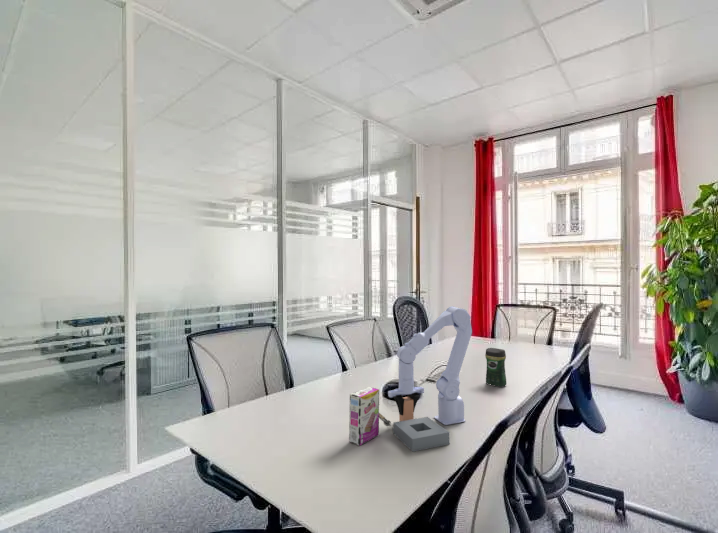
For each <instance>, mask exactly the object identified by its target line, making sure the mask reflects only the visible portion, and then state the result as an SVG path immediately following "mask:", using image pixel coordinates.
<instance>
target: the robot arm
mask: <svg viewBox="0 0 718 533" xmlns="http://www.w3.org/2000/svg"><path fill="white" fill-rule="evenodd" d="M471 319H472V317H471V315H470V313H469V312H468V311H467V310H466V309H465V308H461V307H460V308H459V307H456V306H453V305H452V306H448V308H446V310H444V311H442V312H441V313H440V315H439V316H437V317H436V319H435V320H434V321H433V322H432V323H431V324H430V325H429V326H428V327H427V328H426V329H425V330H424V331H423V332H417V333H415V332H414V334H413V335H412V336H413V337H411V339H410V340H409V341H408V342H405V343H404V345H402V346H400V347H399V348H398V349H397V351H396V356H397V358H398V388H395V389H392V390H391V389H390V390H388V391H387V396H388V398H391V399H392V398H393V399H394V402H395V403H396V406H397V410H398V415H399V414H400V415H403V405H404V400H405V399H404V398H403V396H406V395H407V397H410V398H411V399H413V407H414V410H415V409H416V405H417V402H418V401H419V400H420V397H421V396H420V394H424V393H425V388H424V387H423V386H414V385H415V383H414V382H415V381H414V377H415V376H414V375H415V374H414V362H415V360H416V356H417V355H418V354H419V353H420V352H422V351H423V349H425V348H426V347H427V346H428V345H429V344H430V339H431V338H432V337H434V336H435V335H436V334H438V333H439V331H441V330H442V329H443V328H444V327H447V326H448V327H449V326H453V327H454V330H456V335H455V338H454V342H453V345H452V348H451V350H450V354H449V357H448V360H447V364H446V367H445V370H443V372H441V374H440V377H439V378H438V379H437V381H436V382H435V386H436V389H437V391H438V394H437V399H438V400H437V402H438V403H437V404H438V405H437V408H438V409H437V410H438V412H437V415H435V416H433V419H435V420H437V422H440V423H441V424H442V425H444V426H449V425H453V424H459V423H464V422H466V419H465V403H464V400H463V398H462V397H461V396H460V384H461V382H460V380H461V379H460V372H461V369H462V366H463V363H464V359H465V357H466V353H467V349H468V346H469V344H470V341H471V337H472V334H473V329H472V323H471Z"/></svg>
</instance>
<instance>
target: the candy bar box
mask: <svg viewBox="0 0 718 533" xmlns="http://www.w3.org/2000/svg"><path fill="white" fill-rule="evenodd" d="M379 413H380V389H379V388H376V387H375V388H374V387H371V386H367V387H365V388H363V389H360V390H358V391H354V392H353V393H349V422H348V423H349V428H348V429H349V435H348V436H349V438H348V442H349V443H351V444H354V445H356V446H357V447H361V446H362V445H364V444H365V443H367V442H370V440H373V439H374V438H375V437H378V436H379V435H380V417H379Z"/></svg>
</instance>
